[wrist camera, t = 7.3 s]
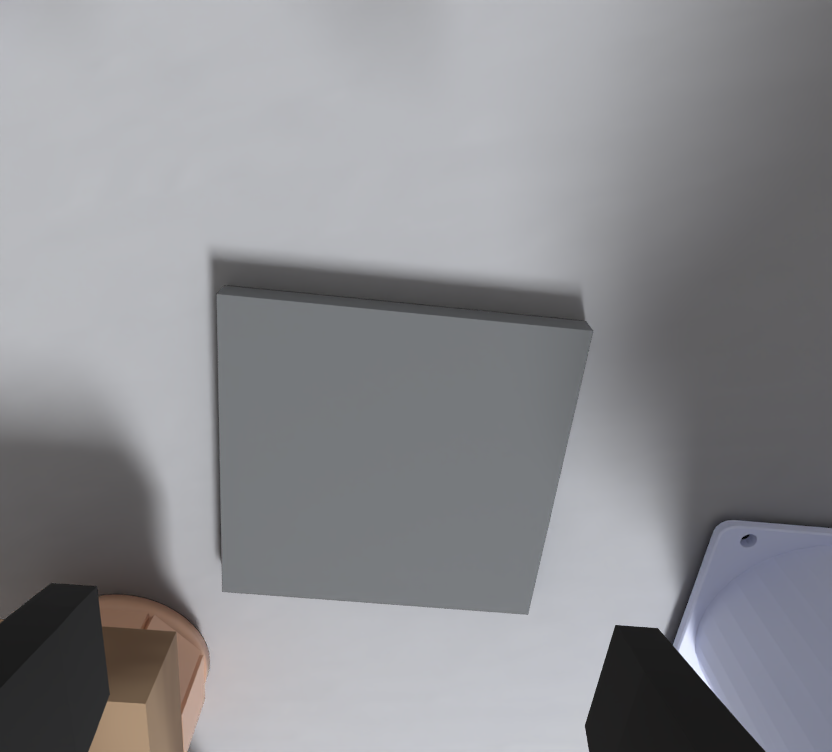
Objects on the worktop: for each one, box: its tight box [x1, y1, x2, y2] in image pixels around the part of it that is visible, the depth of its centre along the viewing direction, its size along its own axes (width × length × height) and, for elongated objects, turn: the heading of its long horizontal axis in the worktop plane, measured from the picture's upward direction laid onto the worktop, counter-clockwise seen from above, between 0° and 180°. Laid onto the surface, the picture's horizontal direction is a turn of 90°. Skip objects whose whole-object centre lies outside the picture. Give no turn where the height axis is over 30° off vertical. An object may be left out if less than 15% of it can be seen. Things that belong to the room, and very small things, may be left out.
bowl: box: [98, 594, 210, 752], centre depth 22 cm, size 6×6×3 cm
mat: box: [217, 285, 593, 615], centre depth 20 cm, size 10×10×1 cm
